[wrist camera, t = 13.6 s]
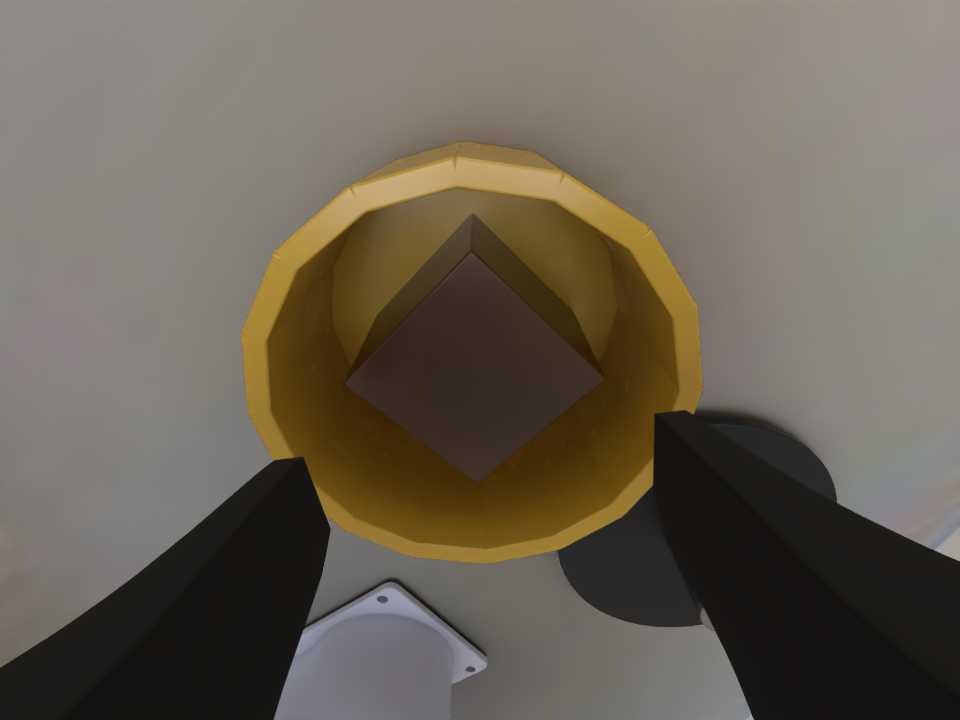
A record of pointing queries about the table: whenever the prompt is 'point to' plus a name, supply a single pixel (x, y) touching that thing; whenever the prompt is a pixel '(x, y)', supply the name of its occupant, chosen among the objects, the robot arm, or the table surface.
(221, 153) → the table surface
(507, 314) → the block
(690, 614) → the lid
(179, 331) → the table surface
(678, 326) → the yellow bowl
